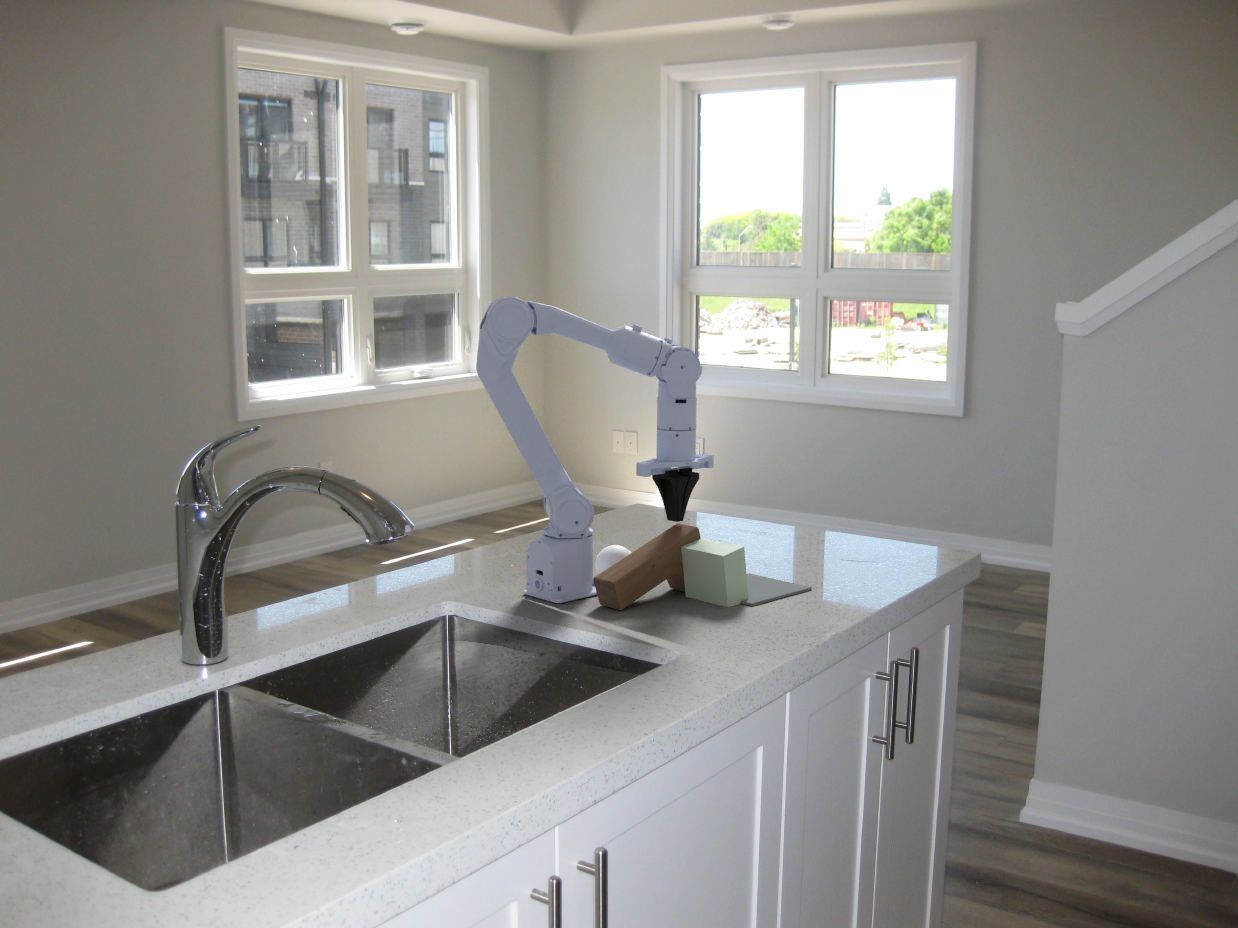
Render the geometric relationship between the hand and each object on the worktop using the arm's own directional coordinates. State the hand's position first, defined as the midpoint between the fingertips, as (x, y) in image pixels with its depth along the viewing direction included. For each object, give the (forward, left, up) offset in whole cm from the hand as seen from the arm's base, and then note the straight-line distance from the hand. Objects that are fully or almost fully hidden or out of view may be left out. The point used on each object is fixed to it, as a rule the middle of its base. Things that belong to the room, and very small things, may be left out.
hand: (675, 520), depth 170 cm
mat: (+8, -8, -10) cm, 15 cm away
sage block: (0, -8, -10) cm, 13 cm away
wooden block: (+3, -2, -5) cm, 6 cm away
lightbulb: (+5, +9, -9) cm, 14 cm away
